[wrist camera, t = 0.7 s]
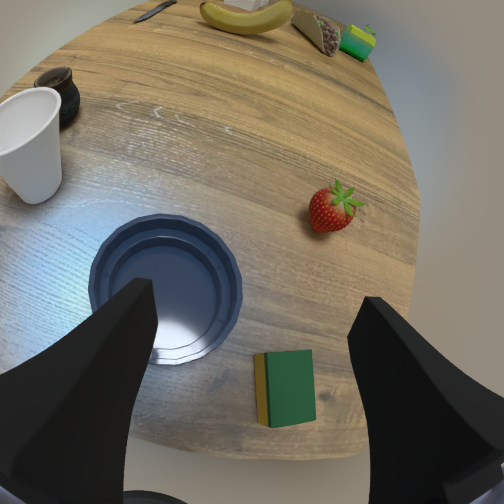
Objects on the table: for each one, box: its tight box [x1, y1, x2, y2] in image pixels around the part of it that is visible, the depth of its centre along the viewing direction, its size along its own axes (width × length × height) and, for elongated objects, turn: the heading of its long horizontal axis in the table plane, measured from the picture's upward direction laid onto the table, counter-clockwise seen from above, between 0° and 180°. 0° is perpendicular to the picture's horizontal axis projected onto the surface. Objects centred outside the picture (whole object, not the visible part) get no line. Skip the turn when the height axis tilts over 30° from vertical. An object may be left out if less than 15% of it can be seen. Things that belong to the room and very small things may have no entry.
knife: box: [133, 0, 177, 22], centre depth 51 cm, size 28×3×1 cm, turn 173°
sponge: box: [254, 350, 316, 428], centre depth 24 cm, size 7×4×4 cm, turn 3°
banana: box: [200, 0, 292, 34], centre depth 46 cm, size 23×6×20 cm, turn 82°
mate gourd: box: [34, 66, 80, 128], centre depth 25 cm, size 7×8×10 cm
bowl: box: [88, 213, 243, 365], centre depth 24 cm, size 13×13×4 cm
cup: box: [0, 87, 62, 204], centre depth 20 cm, size 10×10×11 cm
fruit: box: [309, 178, 365, 233], centre depth 32 cm, size 5×5×8 cm
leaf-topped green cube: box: [339, 24, 376, 61], centre depth 71 cm, size 11×10×15 cm
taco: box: [291, 10, 341, 56], centre depth 66 cm, size 10×27×10 cm, turn 18°
